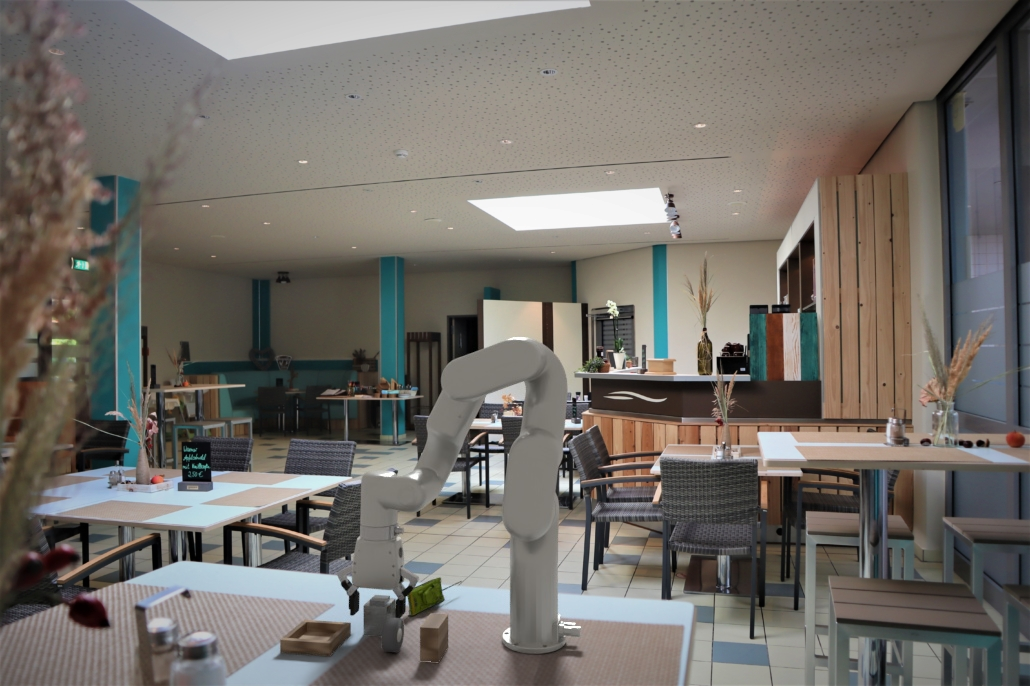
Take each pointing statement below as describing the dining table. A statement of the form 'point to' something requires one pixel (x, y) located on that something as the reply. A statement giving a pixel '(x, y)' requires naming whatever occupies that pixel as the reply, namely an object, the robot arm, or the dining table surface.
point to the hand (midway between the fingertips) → (376, 615)
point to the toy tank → (425, 596)
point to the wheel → (392, 634)
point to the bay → (315, 638)
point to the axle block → (434, 637)
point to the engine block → (377, 614)
